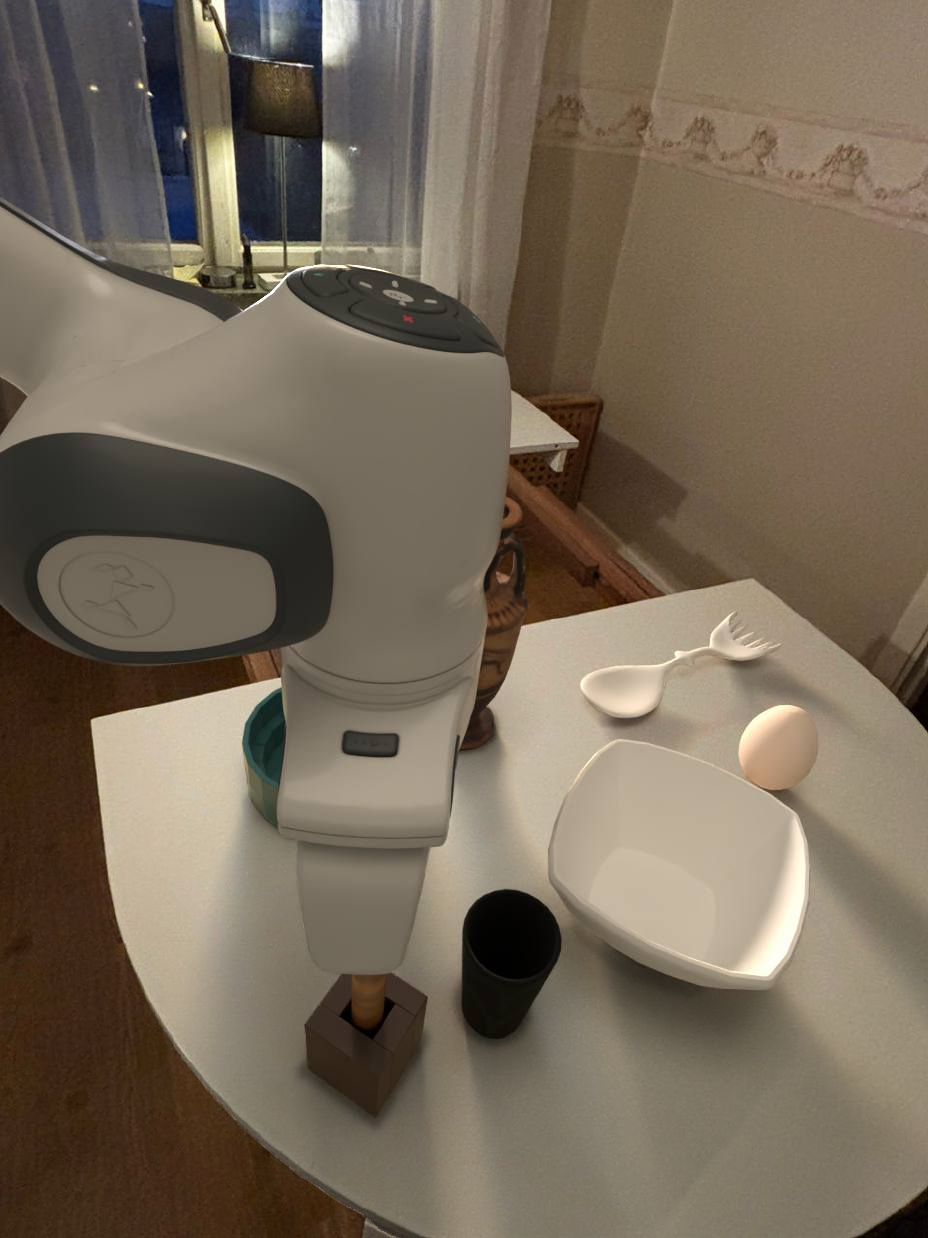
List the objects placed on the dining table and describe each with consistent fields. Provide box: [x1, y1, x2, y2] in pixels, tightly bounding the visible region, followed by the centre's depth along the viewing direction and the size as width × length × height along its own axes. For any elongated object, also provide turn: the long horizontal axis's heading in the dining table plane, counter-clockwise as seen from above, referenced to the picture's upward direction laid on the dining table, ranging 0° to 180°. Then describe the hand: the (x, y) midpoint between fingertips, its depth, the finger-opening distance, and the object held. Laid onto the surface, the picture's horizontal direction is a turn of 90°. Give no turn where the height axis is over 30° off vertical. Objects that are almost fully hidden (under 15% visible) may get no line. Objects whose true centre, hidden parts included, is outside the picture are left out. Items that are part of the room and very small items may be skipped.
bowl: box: [547, 738, 811, 991], centre depth 69 cm, size 22×22×12 cm
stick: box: [351, 974, 386, 1040], centre depth 54 cm, size 2×2×18 cm
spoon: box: [579, 610, 783, 719], centre depth 99 cm, size 9×32×4 cm, turn 122°
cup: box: [460, 888, 563, 1040], centre depth 60 cm, size 8×8×12 cm
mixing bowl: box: [241, 686, 286, 827], centre depth 79 cm, size 17×17×7 cm
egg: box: [738, 704, 819, 791], centre depth 84 cm, size 8×8×11 cm
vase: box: [459, 496, 529, 751], centre depth 80 cm, size 11×11×30 cm
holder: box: [304, 972, 429, 1119], centre depth 57 cm, size 7×7×8 cm
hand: (374, 843), depth 42 cm, fingers open, 8 cm apart
